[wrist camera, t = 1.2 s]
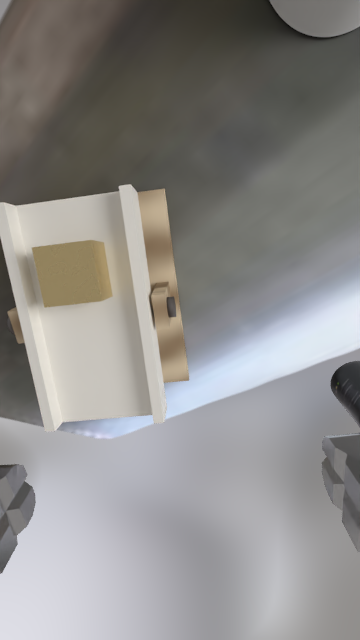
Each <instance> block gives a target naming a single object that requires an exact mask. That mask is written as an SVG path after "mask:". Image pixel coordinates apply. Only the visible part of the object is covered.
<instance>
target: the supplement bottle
mask: <svg viewBox="0 0 360 640" xmlns="http://www.w3.org/2000/svg"><path fill="white" fill-rule="evenodd" d="M331 389H332V391H333V393H334V395H335V396H336V397H337V399H338V400H339V401H340V403H341V404H342V405H343V406H344V408H345V409H346V410H347V412H348V413H349V414H350V415H351V417H352V418H353V419H354V420H355V422H356V423H357V424H358V425H359V427H360V361H354V362H349V363H346V364H344V365H343V366H341V367H340V368H338V369H337V370H336V371H335V373H334V374H333V376H332V379H331Z"/></svg>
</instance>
